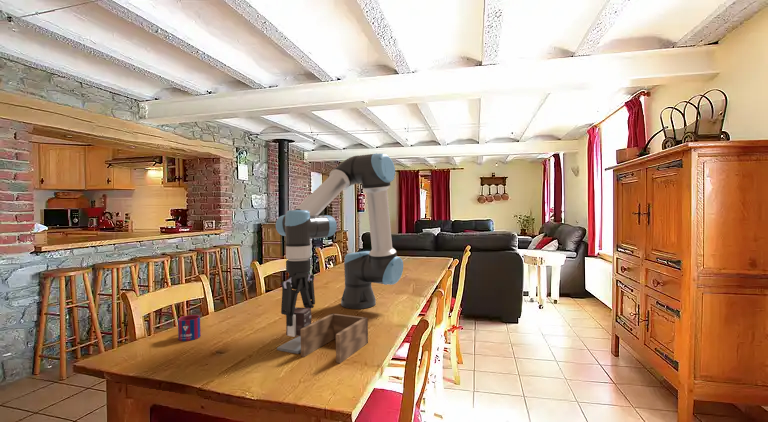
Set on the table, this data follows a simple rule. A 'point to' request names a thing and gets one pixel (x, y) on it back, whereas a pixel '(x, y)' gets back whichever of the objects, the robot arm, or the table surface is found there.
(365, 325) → the open wooden cubby
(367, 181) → the robot arm
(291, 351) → the slate
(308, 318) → the box
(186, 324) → the mug
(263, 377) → the table surface
